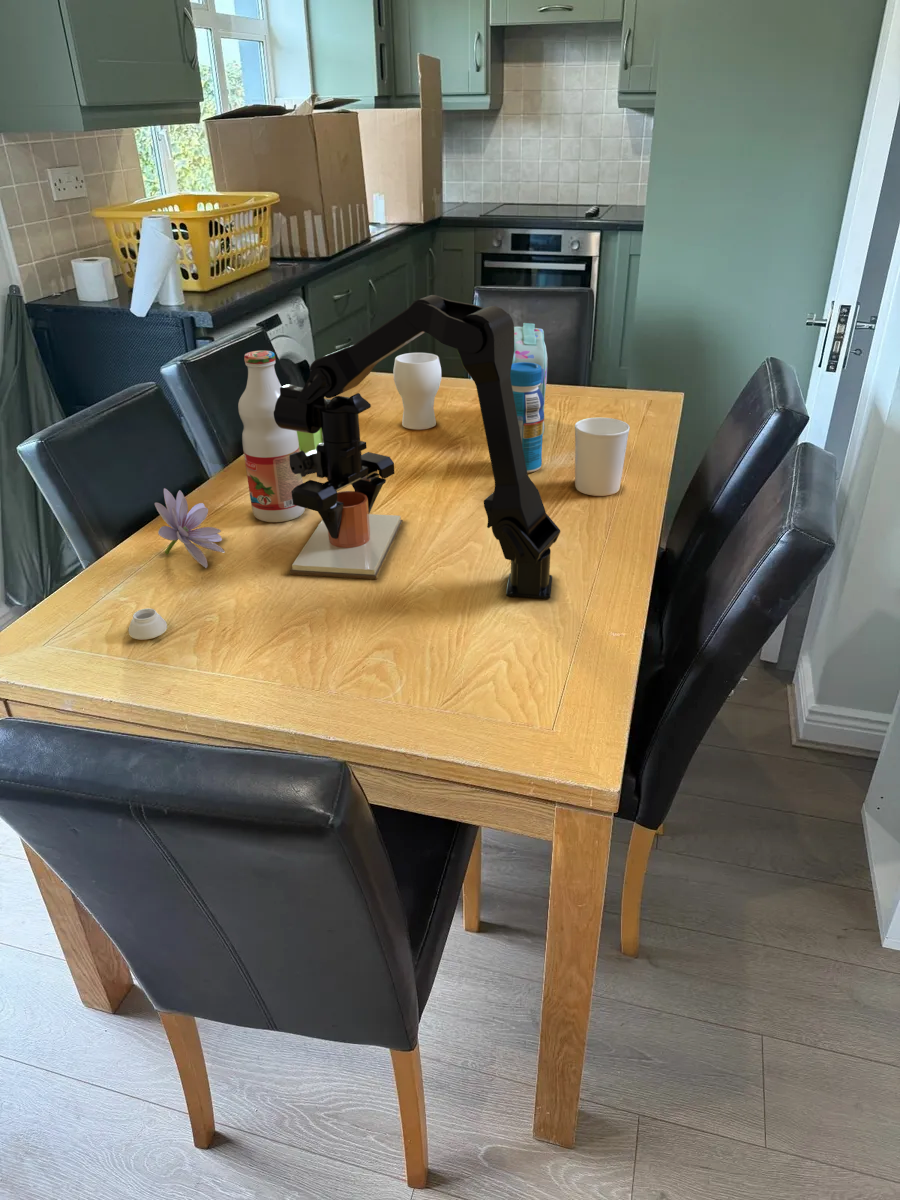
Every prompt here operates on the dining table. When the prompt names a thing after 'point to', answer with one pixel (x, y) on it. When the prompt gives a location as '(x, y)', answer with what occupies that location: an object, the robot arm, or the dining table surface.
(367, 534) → the pot
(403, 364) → the cup
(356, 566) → the tile
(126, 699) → the dining table surface
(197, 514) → the water lily
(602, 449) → the white tumbler
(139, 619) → the lidless jar
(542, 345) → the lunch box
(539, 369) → the beverage bottle
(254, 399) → the fruit juice
